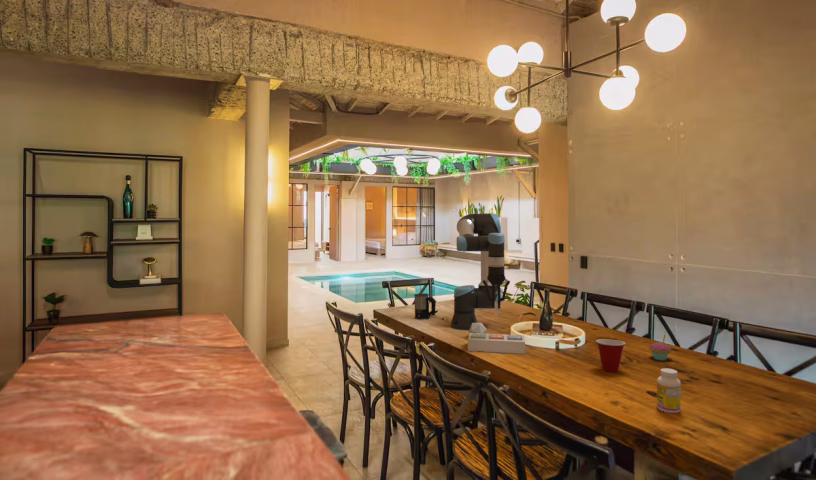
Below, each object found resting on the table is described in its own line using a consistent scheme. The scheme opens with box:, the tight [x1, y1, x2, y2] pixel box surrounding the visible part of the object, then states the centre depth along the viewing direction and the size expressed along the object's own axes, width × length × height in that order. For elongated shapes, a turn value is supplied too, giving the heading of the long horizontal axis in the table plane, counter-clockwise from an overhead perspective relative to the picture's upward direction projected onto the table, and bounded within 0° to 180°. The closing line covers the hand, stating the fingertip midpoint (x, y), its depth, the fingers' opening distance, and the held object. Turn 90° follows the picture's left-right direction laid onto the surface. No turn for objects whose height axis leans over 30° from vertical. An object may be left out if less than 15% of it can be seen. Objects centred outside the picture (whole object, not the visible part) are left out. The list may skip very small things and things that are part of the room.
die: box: [468, 322, 488, 334], centre depth 237 cm, size 8×9×10 cm
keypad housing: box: [467, 333, 526, 355], centre depth 217 cm, size 12×26×6 cm, turn 78°
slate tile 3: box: [507, 334, 522, 340], centre depth 215 cm, size 6×6×4 cm
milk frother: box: [413, 293, 439, 320], centre depth 287 cm, size 14×16×15 cm
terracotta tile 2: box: [489, 333, 504, 340], centre depth 217 cm, size 6×6×4 cm
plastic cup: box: [595, 338, 626, 373], centre depth 185 cm, size 11×11×12 cm
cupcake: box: [648, 331, 672, 361], centre depth 199 cm, size 9×8×12 cm
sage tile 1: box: [472, 333, 486, 339], centre depth 219 cm, size 6×6×4 cm
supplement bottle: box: [656, 367, 682, 414], centre depth 147 cm, size 7×7×13 cm
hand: (496, 315), depth 217 cm, fingers closed
